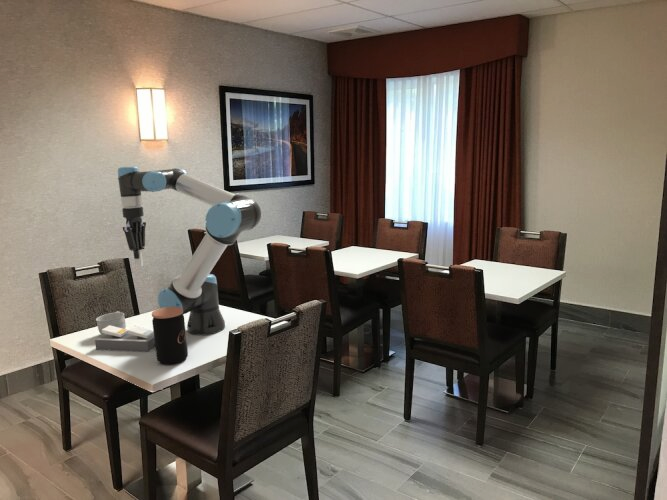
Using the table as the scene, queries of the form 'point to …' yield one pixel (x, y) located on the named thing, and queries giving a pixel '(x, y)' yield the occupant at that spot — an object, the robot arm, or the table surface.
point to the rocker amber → (115, 331)
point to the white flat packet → (140, 332)
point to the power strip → (125, 343)
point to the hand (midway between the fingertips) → (139, 266)
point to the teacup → (111, 321)
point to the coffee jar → (169, 335)
